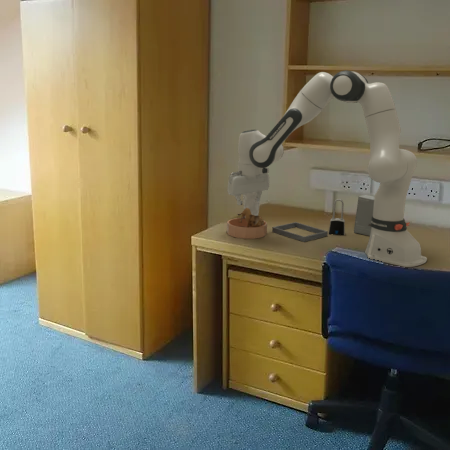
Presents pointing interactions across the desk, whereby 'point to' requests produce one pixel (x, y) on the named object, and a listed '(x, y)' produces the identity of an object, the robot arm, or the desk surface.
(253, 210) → the cup
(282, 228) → the tray
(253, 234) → the bowl
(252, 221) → the lion figurine
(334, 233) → the padlock
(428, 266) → the desk surface
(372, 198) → the skincare box
